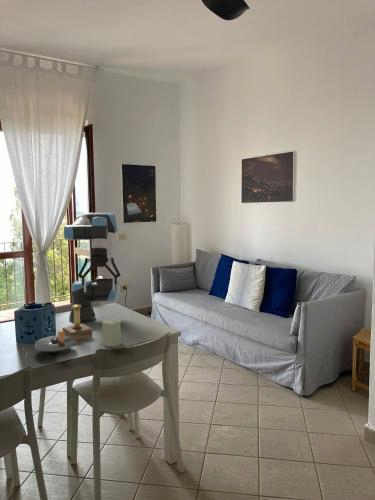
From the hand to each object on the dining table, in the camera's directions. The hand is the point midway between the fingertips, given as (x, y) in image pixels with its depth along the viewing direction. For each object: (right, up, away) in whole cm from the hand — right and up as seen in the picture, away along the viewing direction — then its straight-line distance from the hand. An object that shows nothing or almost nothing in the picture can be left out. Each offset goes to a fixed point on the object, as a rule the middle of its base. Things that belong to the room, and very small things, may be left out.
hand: (99, 291), depth 198 cm
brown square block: (-14, -25, +13) cm, 32 cm away
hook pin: (-14, -25, +13) cm, 32 cm away
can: (+5, -27, +5) cm, 27 cm away
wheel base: (-19, -28, -7) cm, 34 cm away
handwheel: (-19, -24, -7) cm, 32 cm away
